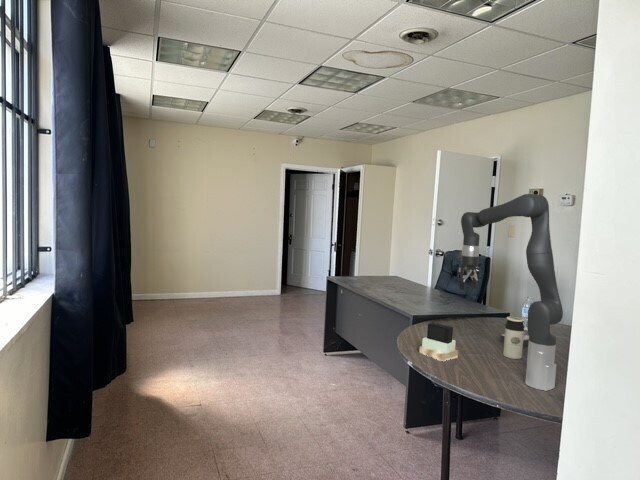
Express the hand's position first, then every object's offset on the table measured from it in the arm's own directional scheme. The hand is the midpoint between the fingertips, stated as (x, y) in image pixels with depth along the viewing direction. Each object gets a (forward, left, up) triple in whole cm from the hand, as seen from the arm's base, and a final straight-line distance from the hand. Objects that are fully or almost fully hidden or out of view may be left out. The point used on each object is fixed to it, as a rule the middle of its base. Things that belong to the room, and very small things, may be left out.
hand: (467, 289), depth 197 cm
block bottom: (+2, +15, -31) cm, 34 cm away
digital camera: (+2, +15, -23) cm, 28 cm away
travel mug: (-15, -16, -30) cm, 37 cm away
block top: (+2, +15, -27) cm, 31 cm away
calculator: (-3, -39, -31) cm, 50 cm away
